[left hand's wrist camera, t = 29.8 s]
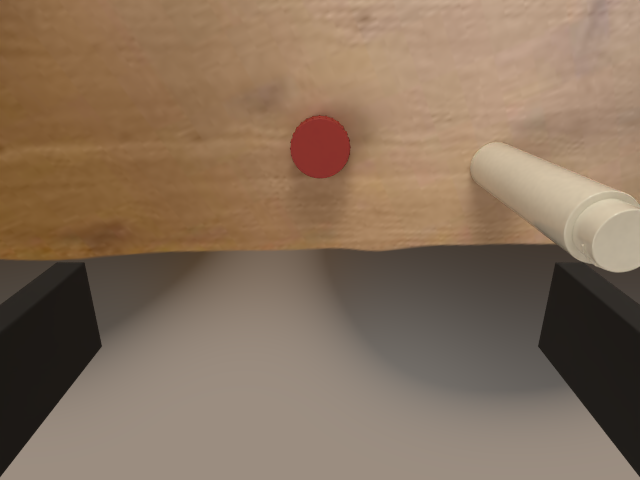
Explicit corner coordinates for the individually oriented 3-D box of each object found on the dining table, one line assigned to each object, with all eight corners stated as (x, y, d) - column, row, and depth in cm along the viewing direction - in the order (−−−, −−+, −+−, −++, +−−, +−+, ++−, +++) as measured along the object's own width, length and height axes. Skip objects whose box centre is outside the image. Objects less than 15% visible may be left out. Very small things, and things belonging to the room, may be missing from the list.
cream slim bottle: (502, 195, 42) (636, 290, 24) (461, 178, 42) (567, 263, 24) (527, 152, 41) (688, 219, 23) (484, 134, 40) (616, 188, 22)
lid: (301, 107, 39) (300, 109, 37) (357, 125, 40) (359, 129, 38) (284, 163, 41) (282, 168, 39) (338, 180, 42) (339, 186, 40)
